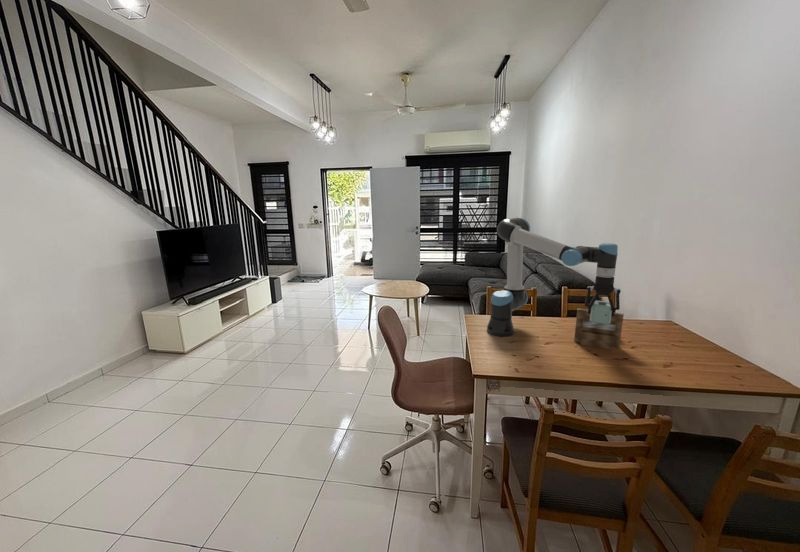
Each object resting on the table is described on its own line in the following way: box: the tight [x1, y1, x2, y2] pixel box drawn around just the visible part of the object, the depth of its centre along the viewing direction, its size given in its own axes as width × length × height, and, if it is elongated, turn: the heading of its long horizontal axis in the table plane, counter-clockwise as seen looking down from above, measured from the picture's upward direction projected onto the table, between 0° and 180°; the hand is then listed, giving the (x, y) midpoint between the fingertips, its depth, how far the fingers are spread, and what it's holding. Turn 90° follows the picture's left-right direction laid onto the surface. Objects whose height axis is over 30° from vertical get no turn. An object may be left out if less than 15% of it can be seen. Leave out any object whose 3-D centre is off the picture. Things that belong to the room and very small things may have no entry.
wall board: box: [573, 307, 624, 351], centre depth 164 cm, size 20×8×18 cm, turn 61°
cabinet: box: [592, 300, 612, 325], centre depth 156 cm, size 7×9×10 cm
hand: (599, 321), depth 156 cm, fingers closed on cabinet, 7 cm apart
